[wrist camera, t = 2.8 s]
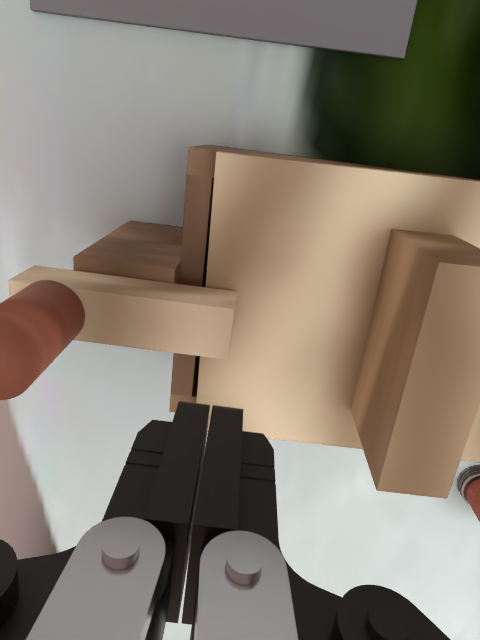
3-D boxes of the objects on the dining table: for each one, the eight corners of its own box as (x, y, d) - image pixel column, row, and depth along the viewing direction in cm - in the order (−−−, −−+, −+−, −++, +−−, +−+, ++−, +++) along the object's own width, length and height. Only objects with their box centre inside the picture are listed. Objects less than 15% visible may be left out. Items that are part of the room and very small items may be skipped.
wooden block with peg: (237, 286, 18) (226, 354, 12) (230, 342, 19) (217, 428, 13) (34, 260, 18) (-68, 316, 12) (37, 317, 19) (-58, 393, 13)
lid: (633, 197, 18) (814, 227, 12) (528, 452, 22) (622, 563, 16) (219, 151, 18) (198, 157, 12) (197, 415, 22) (174, 512, 16)
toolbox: (509, 183, 24) (627, 206, 16) (444, 381, 29) (512, 473, 21) (133, 134, 24) (71, 134, 16) (126, 341, 29) (76, 417, 21)
